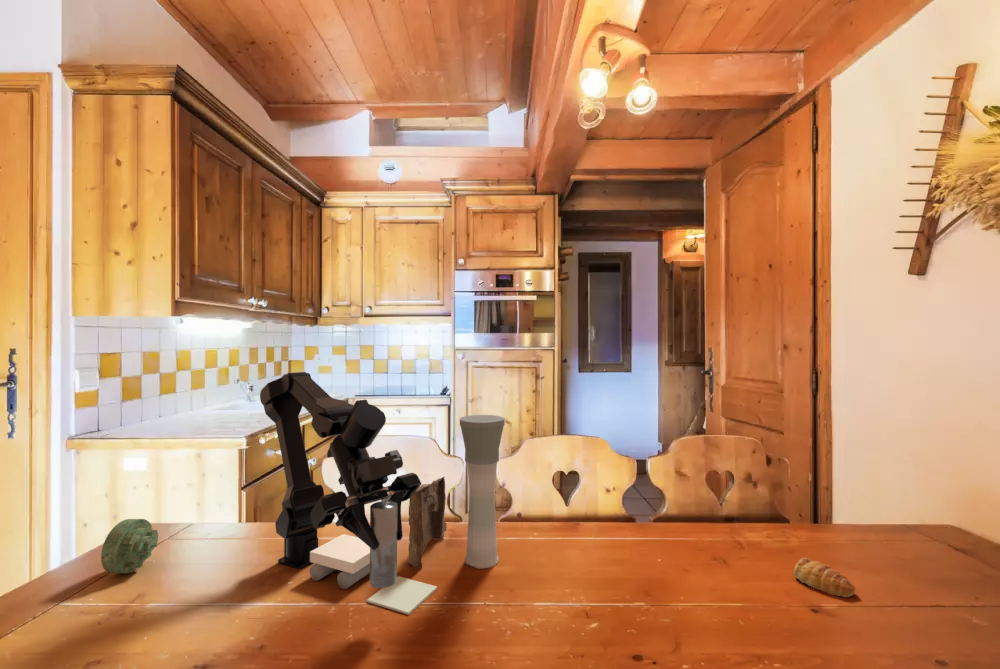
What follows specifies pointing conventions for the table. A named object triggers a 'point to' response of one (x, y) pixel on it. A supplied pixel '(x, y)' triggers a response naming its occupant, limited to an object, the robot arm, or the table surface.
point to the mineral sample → (426, 518)
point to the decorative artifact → (128, 546)
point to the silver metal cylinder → (384, 544)
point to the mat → (403, 595)
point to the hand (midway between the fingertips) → (388, 543)
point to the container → (482, 486)
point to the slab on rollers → (341, 560)
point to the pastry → (823, 578)
